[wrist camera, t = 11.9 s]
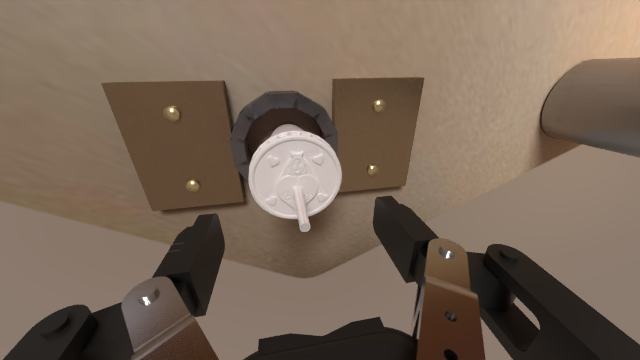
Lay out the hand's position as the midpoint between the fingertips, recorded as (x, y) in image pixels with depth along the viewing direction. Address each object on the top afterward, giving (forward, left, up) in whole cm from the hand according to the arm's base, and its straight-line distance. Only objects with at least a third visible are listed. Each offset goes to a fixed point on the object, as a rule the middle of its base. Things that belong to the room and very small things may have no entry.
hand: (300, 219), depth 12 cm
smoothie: (0, 0, -14) cm, 14 cm away
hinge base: (0, 0, -14) cm, 14 cm away
